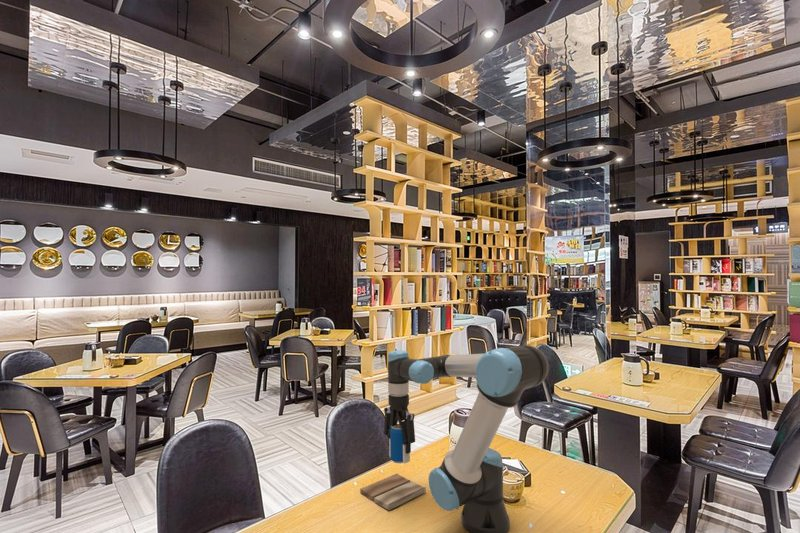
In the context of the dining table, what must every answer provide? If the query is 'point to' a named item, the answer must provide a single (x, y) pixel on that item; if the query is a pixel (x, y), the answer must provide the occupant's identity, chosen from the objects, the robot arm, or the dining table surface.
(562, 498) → the dining table surface
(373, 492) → the walnut board
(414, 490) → the plank
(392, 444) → the beverage can
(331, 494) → the dining table surface
